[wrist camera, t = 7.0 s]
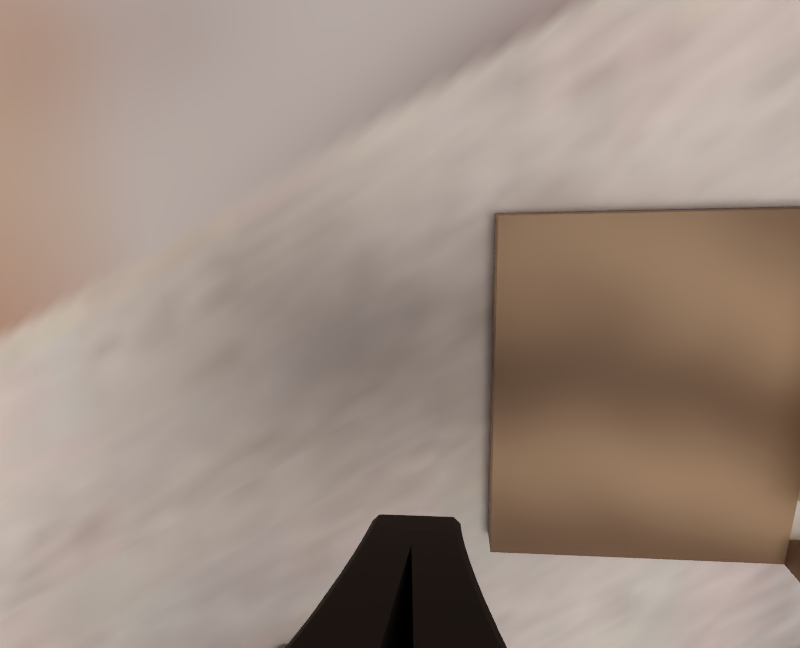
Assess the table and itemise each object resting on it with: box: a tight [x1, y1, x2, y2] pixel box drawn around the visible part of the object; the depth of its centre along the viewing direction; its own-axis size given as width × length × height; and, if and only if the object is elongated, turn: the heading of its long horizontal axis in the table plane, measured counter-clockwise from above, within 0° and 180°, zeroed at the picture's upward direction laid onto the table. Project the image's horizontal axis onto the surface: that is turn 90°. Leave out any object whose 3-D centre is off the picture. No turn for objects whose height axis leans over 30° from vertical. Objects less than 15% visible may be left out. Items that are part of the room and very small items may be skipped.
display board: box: [489, 207, 800, 582], centre depth 16 cm, size 12×18×4 cm, turn 92°
